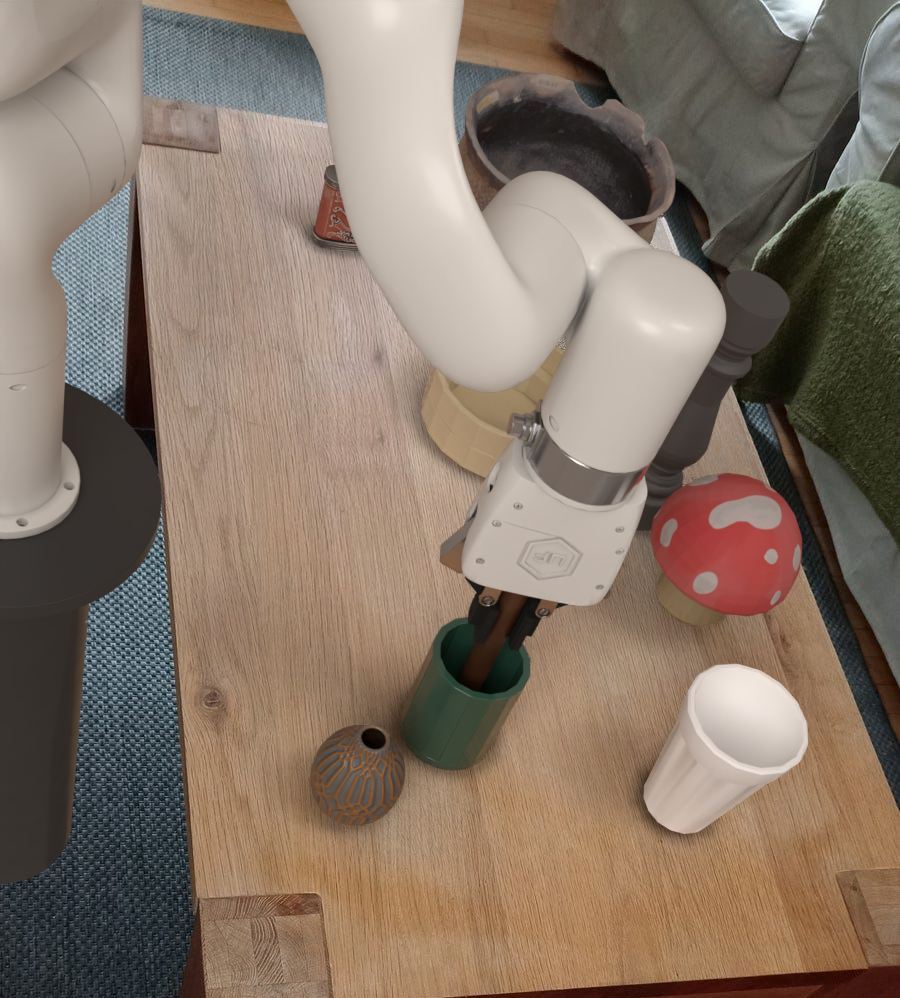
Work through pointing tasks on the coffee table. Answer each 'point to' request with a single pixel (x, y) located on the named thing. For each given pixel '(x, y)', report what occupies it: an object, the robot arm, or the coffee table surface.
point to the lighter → (332, 218)
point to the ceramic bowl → (565, 146)
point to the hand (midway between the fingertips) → (496, 630)
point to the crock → (460, 700)
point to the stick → (492, 642)
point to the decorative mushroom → (725, 549)
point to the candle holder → (716, 381)
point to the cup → (724, 747)
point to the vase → (357, 774)
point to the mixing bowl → (480, 415)
